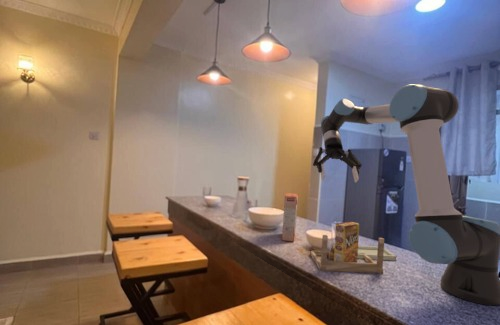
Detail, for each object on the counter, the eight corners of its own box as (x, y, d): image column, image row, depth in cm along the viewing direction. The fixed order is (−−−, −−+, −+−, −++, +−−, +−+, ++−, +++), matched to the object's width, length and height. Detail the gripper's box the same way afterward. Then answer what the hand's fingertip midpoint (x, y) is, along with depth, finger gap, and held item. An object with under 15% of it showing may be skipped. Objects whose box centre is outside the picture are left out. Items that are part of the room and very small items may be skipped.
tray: (396, 260, 110) (396, 256, 110) (357, 258, 110) (357, 254, 110) (382, 250, 122) (382, 246, 122) (346, 248, 121) (346, 245, 121)
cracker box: (294, 242, 127) (297, 196, 127) (281, 241, 128) (284, 195, 128) (295, 234, 141) (298, 193, 140) (283, 233, 142) (286, 192, 141)
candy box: (342, 269, 98) (345, 225, 98) (332, 264, 102) (335, 223, 101) (357, 264, 103) (360, 223, 103) (347, 260, 107) (350, 221, 107)
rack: (383, 273, 96) (385, 239, 96) (320, 270, 96) (322, 235, 96) (363, 257, 112) (365, 227, 112) (310, 254, 112) (311, 224, 112)
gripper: (357, 150, 130) (367, 186, 116) (303, 146, 130) (307, 182, 116) (362, 138, 124) (374, 175, 110) (307, 134, 124) (311, 171, 110)
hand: (340, 179), depth 113 cm, fingers open, 13 cm apart
